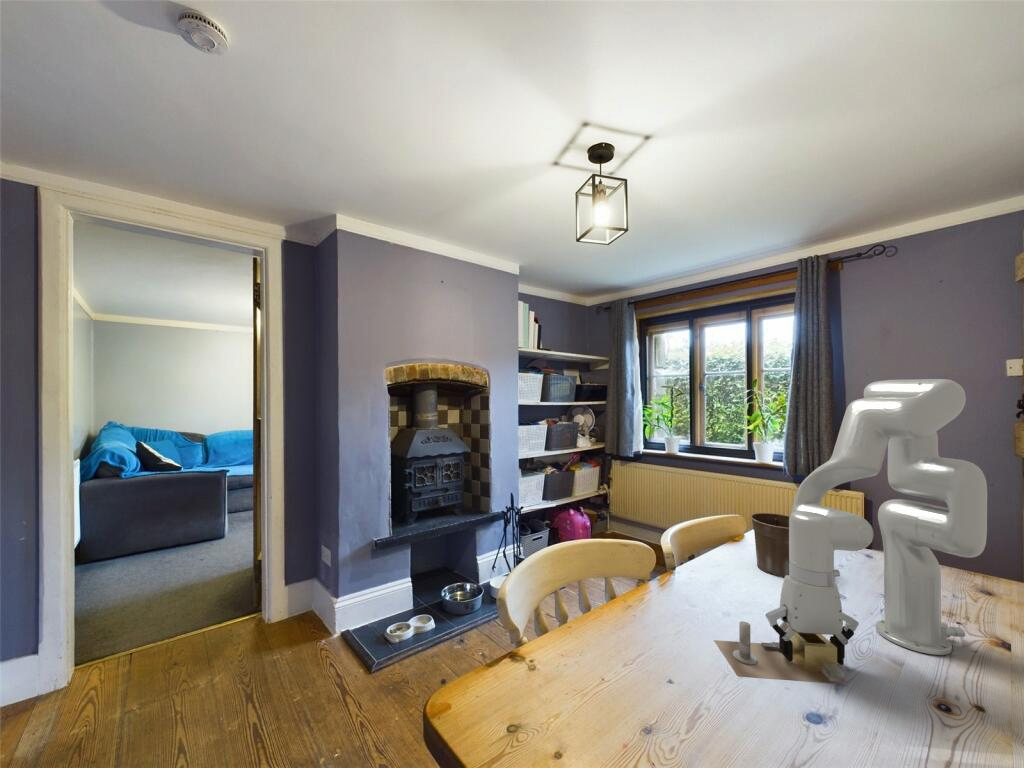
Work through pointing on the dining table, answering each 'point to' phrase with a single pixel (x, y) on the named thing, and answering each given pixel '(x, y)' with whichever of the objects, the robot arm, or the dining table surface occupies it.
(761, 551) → the plant pot
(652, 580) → the dining table surface
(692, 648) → the dining table surface
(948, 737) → the dining table surface
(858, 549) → the robot arm
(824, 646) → the end link
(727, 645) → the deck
